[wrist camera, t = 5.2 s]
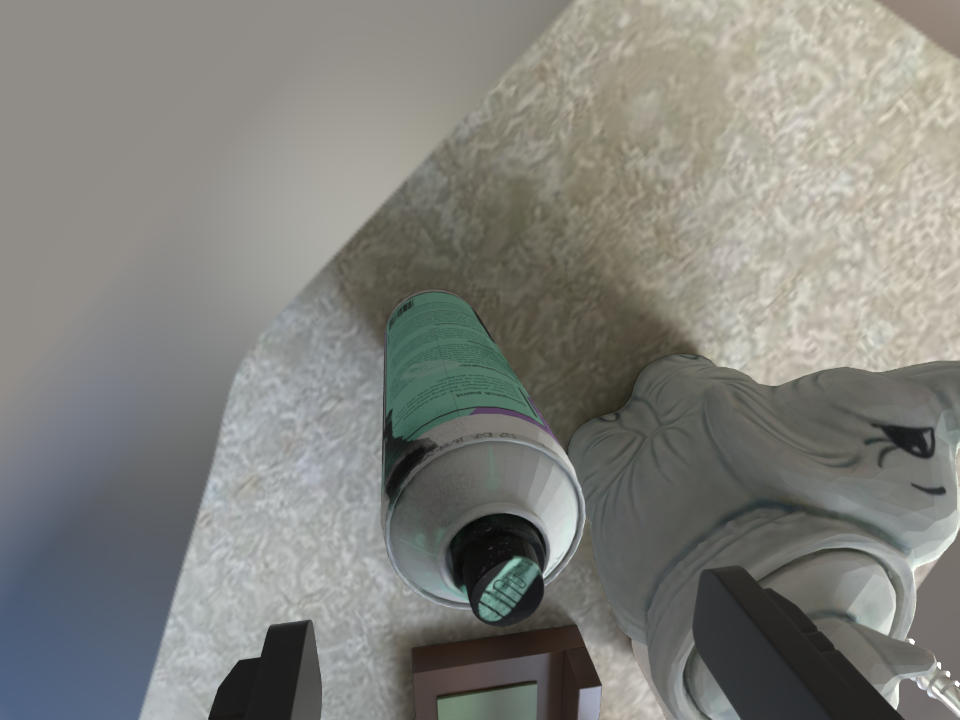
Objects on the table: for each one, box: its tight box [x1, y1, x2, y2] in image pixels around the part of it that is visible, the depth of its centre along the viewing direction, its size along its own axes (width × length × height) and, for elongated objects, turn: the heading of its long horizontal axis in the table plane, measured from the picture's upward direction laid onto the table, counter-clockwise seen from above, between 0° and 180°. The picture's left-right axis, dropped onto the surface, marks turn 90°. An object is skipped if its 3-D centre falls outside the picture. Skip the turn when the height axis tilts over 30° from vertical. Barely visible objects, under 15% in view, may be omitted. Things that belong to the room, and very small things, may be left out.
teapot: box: [568, 354, 960, 720], centre depth 26 cm, size 16×15×19 cm
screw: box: [903, 637, 960, 719], centre depth 35 cm, size 13×5×5 cm
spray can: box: [381, 289, 585, 627], centre depth 21 cm, size 6×6×20 cm
